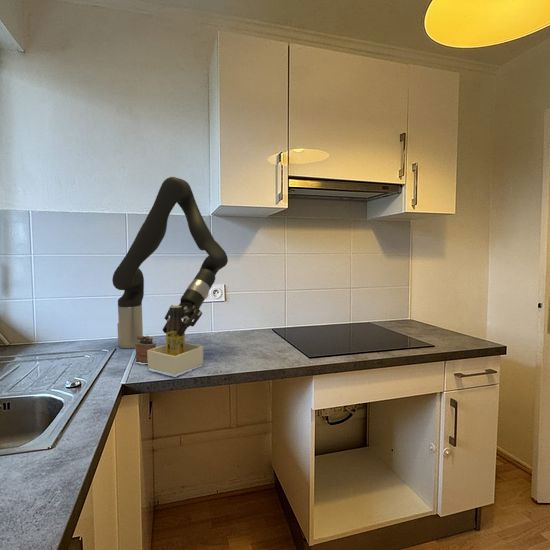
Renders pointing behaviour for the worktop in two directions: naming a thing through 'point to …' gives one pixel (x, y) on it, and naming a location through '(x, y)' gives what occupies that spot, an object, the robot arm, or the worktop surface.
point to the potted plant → (143, 348)
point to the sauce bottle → (174, 333)
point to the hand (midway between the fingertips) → (171, 333)
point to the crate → (175, 359)
